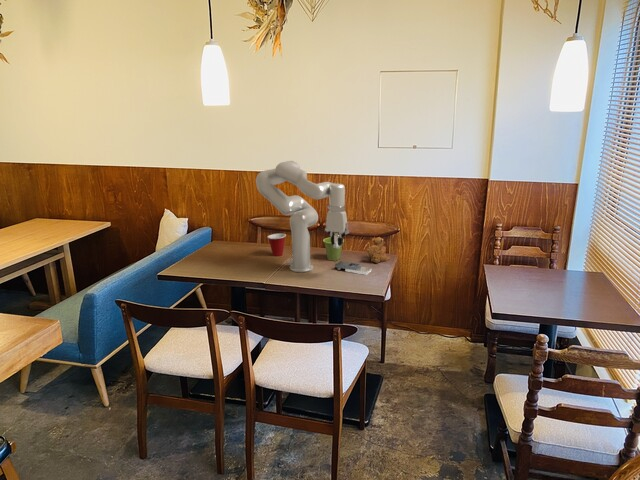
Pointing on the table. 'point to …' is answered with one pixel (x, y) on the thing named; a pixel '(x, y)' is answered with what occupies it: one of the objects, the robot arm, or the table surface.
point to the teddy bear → (377, 251)
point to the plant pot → (332, 250)
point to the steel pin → (336, 240)
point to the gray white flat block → (353, 267)
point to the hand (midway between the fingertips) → (336, 244)
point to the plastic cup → (277, 243)
